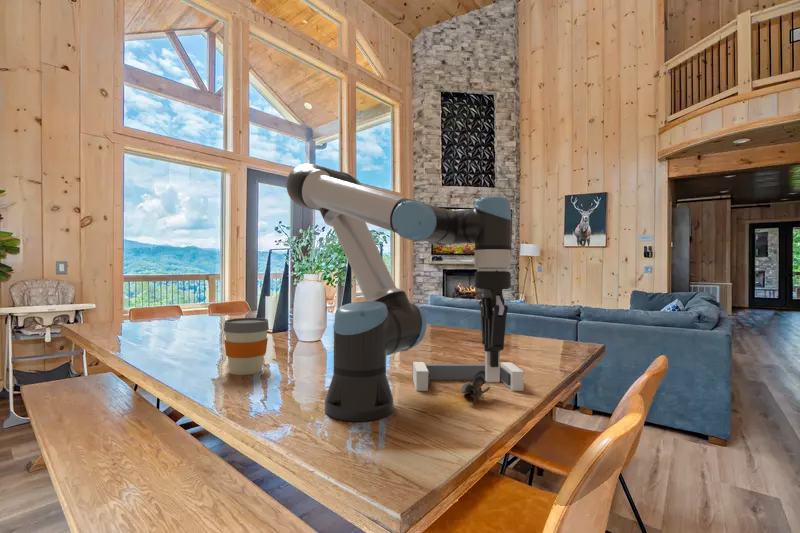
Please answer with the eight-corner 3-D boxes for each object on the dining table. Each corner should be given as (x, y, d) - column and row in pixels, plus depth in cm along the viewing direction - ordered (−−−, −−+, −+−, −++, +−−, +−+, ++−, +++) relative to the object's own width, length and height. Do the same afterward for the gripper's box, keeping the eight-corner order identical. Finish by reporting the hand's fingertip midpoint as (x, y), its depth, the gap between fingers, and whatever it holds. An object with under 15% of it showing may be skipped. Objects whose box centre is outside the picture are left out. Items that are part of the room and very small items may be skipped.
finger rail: (416, 390, 103) (416, 371, 103) (412, 377, 115) (412, 360, 115) (523, 390, 104) (523, 371, 104) (508, 377, 116) (508, 360, 116)
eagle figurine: (499, 401, 93) (493, 383, 101) (483, 376, 92) (479, 360, 101) (470, 416, 94) (467, 397, 103) (454, 392, 93) (452, 374, 102)
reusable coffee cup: (237, 364, 126) (238, 317, 126) (275, 366, 124) (276, 318, 124) (213, 375, 114) (214, 322, 114) (255, 377, 112) (256, 324, 112)
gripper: (520, 270, 79) (520, 390, 79) (500, 270, 92) (500, 373, 92) (483, 270, 79) (483, 390, 79) (468, 270, 92) (468, 373, 92)
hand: (492, 381), depth 85 cm, fingers closed
